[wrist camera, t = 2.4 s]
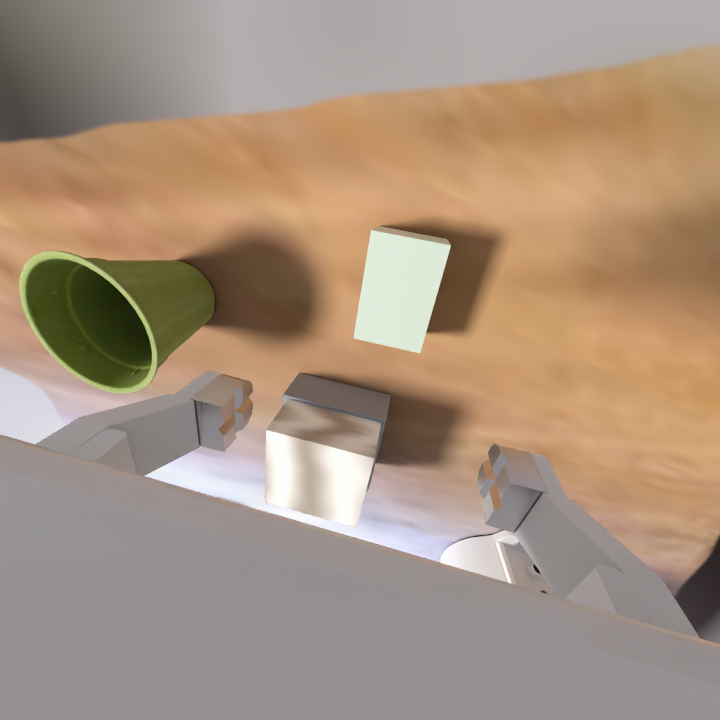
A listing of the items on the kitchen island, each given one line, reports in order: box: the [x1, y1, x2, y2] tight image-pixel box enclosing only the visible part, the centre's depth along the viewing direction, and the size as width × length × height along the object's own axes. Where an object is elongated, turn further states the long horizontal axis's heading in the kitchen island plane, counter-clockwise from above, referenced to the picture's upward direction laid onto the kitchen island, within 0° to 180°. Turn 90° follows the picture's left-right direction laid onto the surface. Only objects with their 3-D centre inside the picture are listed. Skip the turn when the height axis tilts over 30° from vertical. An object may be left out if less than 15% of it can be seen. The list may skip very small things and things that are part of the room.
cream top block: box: [265, 399, 381, 528], centre depth 31 cm, size 10×10×5 cm
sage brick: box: [354, 226, 451, 353], centre depth 27 cm, size 6×9×5 cm, turn 171°
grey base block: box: [283, 373, 391, 492], centre depth 36 cm, size 11×11×5 cm
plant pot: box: [19, 251, 215, 393], centre depth 29 cm, size 12×12×11 cm
